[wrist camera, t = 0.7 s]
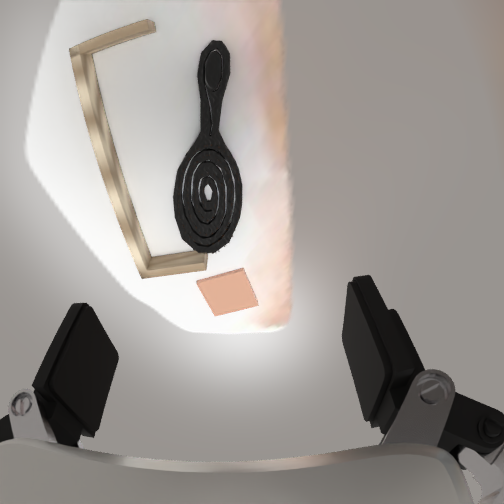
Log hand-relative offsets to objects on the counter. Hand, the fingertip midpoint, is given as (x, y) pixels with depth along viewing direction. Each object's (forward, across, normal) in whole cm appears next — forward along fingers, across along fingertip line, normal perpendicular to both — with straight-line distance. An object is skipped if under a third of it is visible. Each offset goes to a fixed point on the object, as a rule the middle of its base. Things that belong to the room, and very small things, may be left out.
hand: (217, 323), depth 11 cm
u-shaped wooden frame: (+27, +11, 0) cm, 29 cm away
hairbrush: (+28, +3, 0) cm, 28 cm away
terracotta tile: (+28, +4, +21) cm, 36 cm away
